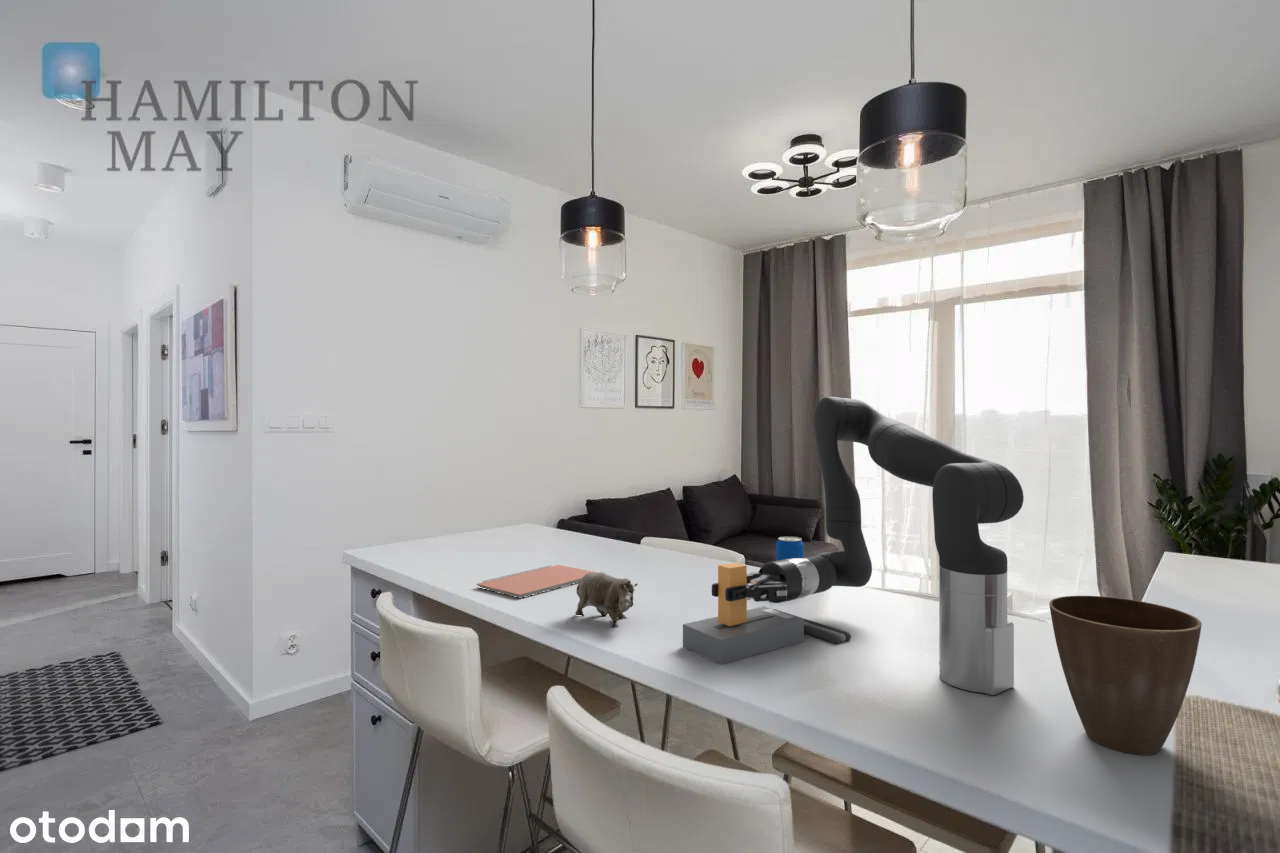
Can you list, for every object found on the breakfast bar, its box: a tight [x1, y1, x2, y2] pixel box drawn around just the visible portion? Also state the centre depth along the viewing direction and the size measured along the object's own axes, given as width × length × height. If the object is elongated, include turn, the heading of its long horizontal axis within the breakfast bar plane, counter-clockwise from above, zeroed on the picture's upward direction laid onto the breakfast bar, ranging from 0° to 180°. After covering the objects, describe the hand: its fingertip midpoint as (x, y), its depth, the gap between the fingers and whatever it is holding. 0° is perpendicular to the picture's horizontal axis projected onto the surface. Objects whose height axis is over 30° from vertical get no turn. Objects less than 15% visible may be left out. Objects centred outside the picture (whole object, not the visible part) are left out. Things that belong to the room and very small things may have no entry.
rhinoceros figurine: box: [574, 572, 638, 626], centre depth 128 cm, size 8×14×15 cm
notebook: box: [476, 564, 599, 598], centre depth 159 cm, size 27×17×2 cm, turn 141°
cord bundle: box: [773, 608, 852, 644], centre depth 120 cm, size 19×10×1 cm, turn 34°
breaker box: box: [682, 606, 805, 665], centre depth 113 cm, size 10×20×4 cm, turn 124°
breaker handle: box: [717, 562, 748, 626], centre depth 112 cm, size 3×4×10 cm
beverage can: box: [775, 536, 805, 561], centre depth 153 cm, size 6×6×12 cm
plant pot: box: [1048, 595, 1203, 756], centre depth 78 cm, size 15×15×16 cm
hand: (720, 592), depth 110 cm, fingers closed on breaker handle, 3 cm apart
